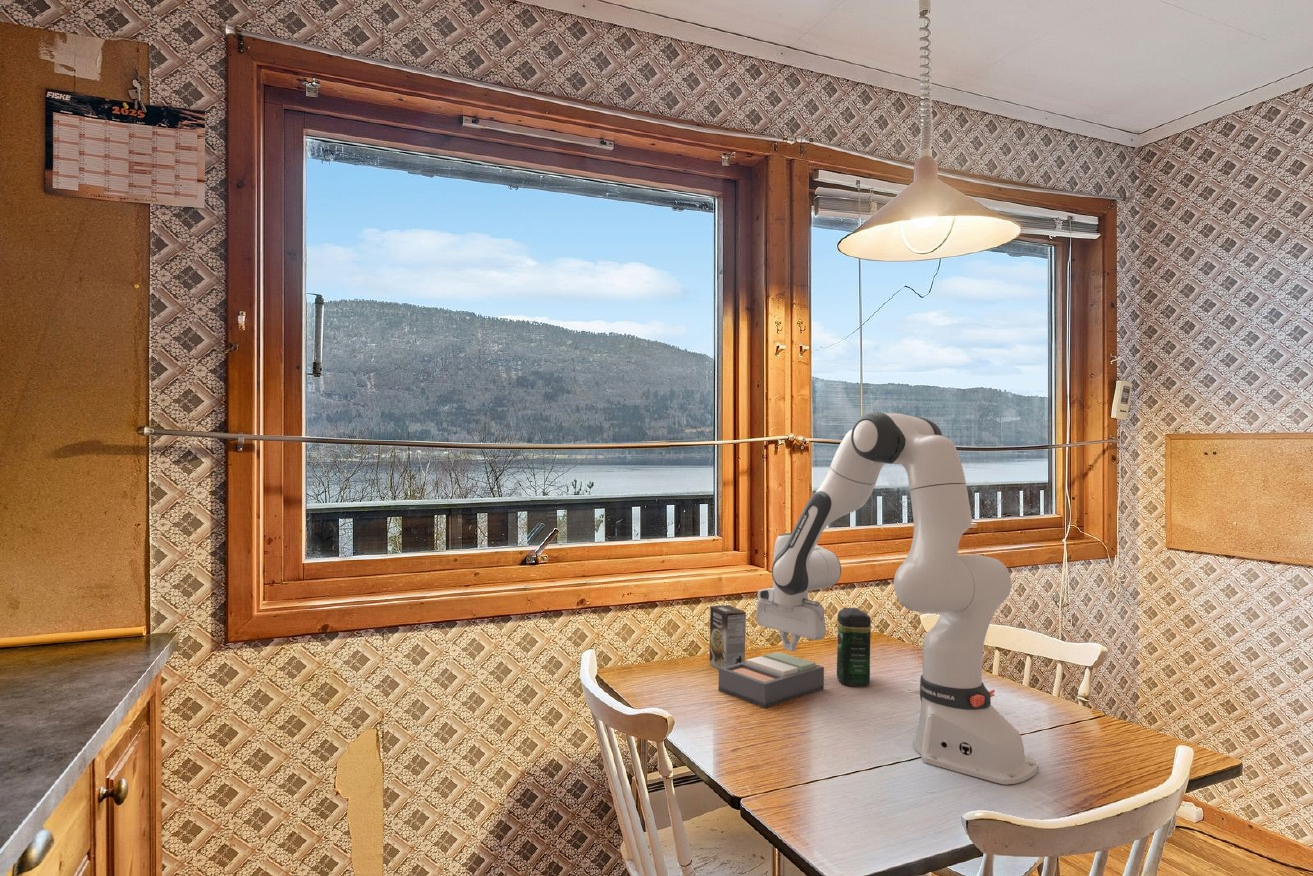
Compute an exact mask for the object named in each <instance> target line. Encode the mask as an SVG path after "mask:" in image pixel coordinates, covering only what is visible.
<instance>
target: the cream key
mask: <svg viewBox="0 0 1313 876" xmlns="http://www.w3.org/2000/svg"><path fill="white" fill-rule="evenodd" d="M746 661H747V663H746V664H748V665H751V666H754V667H757V668H760V669H763V670H766V671H769V672H772V673H775V674H778V675H781V676H787V675H791V674H794V673H797V672H798V668H797V667H794V666H791V665H788V664H784V663H781V662H778V661H775V660H771V659H768V658H765V657H764V656H762V655H760V656H755V657H752V658H748V659H746Z"/></svg>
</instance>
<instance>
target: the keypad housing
mask: <svg viewBox="0 0 1313 876" xmlns="http://www.w3.org/2000/svg"><path fill="white" fill-rule="evenodd" d="M763 657H765V655H764V656H763ZM746 663H747V660H745V662H741V663H737V664H733V665H729V666H726V667H722V668H719V669H718V692H721V693H724V694H727V695H730V696H732V697H734V698H737V699H740V700H742V701H744V702H748V703H750V704H752V705H755V706H757V707H761V708H763V709H767V708H771V707H773V706H776V705H779V704H782V703H785V702H789V701H792V700H795V699H799V698H801V697H804V696H807V695H809V694H813V693H816V692H819V691H821V690H824V689H825V688H824V687H825V686H824V683H825V667H824V666H822V665H818V664H815V668H811V669H808V670H804V671H800V670H798V672H797V673H794V674H791V675H787V676H781V675H778V674H775V673H772V672H769V671H766V670H763V669H760V668H757V667H754V666H751V665H748V664H746ZM738 668H745V669H748V670H751V671H754V672H757V673H760V674H763V675H766V676H769V677H772V678H775V679H773V680H770V681H766V682H763V681H760V680H757V679H755V678H752V677H749V676H746V675H743V674H740V673H737V672H734V671H731V670H735V669H738Z"/></svg>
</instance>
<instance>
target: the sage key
mask: <svg viewBox="0 0 1313 876" xmlns="http://www.w3.org/2000/svg"><path fill="white" fill-rule="evenodd" d="M764 656H765V658H768V659H771V660H775V661H778V662H781V663H784V664H788V665H791V666H794V667H797V668H798V670H800V671H804V670H808V669H811V668H815V665H816V662H814V661H811V660H809V659H804V658H800V657H797V656H794V655H791V654H787V653H784V652H780V651H775V652H772V653H767V654H764Z"/></svg>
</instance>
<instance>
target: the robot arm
mask: <svg viewBox="0 0 1313 876" xmlns="http://www.w3.org/2000/svg"><path fill="white" fill-rule="evenodd" d="M832 458H833V459H832V461H831V463H830V464H829V465H830V466H829V467H828V471H827V472H826V475H825V477H824V479H823V480H822V482H821V484H820V485H819V487H818V488H817V490H816V491H815V493H813V494H812V495H811V496H810V498H809V499H808V501H807V503H806V504H805V506H804V508H803V510H802V512H801V513H800V516H799V517H798V520H797V522H796V524H795V526H794V527H793V529H792V532H789V533H786V532H785V533H781V534H779V535H778V536H777V537H776V539H775V543H774V548H773V563H772V567H771V576H772V579H773V581H772V584H773V585H772V586H769V588H762V589H759V590H758V591H757V597H758V600H757V603H756V609H755V610H756V613H755V614H756V615H755V616H756V617H755V618H756V622H757V624H758V625H759V626H761V627H765V628H769V629H773V630H776V631H779V636H780V639H781V641H782V649H784V650H786V651H789V652H796V651H797V644H798V642H799V641H800V639H801V638H806V639H809V640H813V641H819V640H822V639H824V638H825V637H826V635H827V633H826V632H827V630H826V629H827V627H826V619H825V608H824V606H823V605H822V604H821V603H820V602H819V601H817V600H812V599H809V592H810V591H817V590H821V589H826V588H830V587H832V586H835V585H836V584H837V583H838V582H839V581H840V578H841V576H842V575H841V574H842V566H841V561H840V559H839V558H838V556H837V554H835V552H834V551H832V550H830V549H826V548H824V547H822V546H820V545H818V544H817V543H818V542H819V540H820V537H821V536H822V535H823V532H824V530H825V529H826V528H827V527H828V526H829V525H830V524H832V523H833V522H835V521H836V520H838V519H839V518H842V517H844V516H847V515H848V514H851V513H853V512H856V511H858V510H860V509H862V508H863V506H865V505H866V503H867V502H868V500H869V499H870V497H871V496H872V494H873V491H874V488H875V486H876V484H877V482H878V481H877V480H878V478H879V475H880V474H881V473H880V472H881V470H882V468H883V466H885V464H888V465H889V464H891V465H900V466H902V468H904V470H905V471H906V474H907V480H908V489H909V495H910V502H911V509H912V518H913V534H912V535H913V536H912V541H911V546H910V549H909V551H908V554H907V556H906V558H905V559H904V560H903V562H902V563H901V564H900V565H899V567H898V568H897V570H896V572H895V574H894V578H893V589H894V592H895V595H896V598H897V599H898V601H899V602H900V604H901V605H902V606H903V608H905V609H907V610H909V611H913V612H918V613H925V614H940V615H939V617H938V619H937V621H936V623H935V624H934V626H933V627H932V628H931V629H930V630H929V631H927V633H926V634H925V636H924V638H923V641H922V674H921V675H920V680H919V681H920V684H919V698H920V701H921V703H920V713H919V720H918V725H917V726H918V727H917V730H916V733H915V738H914V740H913V743H912V745H913V748H914V750H915V751H916V752H917V753H919V755H920V757H921V758H920V759H921V760H922V762H924V763H926V764H930V765H933V766H936V767H940V768H944V769H948V770H951V771H953V772H956V773H957V772H958V773H960V774H965V775H968V776H970V777H971V776H972V777H975V778H979V779H983V780H984V781H989V782H992V783H996V784H1000V785H1015V784H1019V783H1023V782H1026V781H1028V780H1029V779H1030V778H1033V777H1034V776H1035V775H1036V774H1037V773H1038V769H1039V768H1038V762H1037V760H1036V759H1034V758H1031V757H1029V756H1027V755H1025V748H1024V742H1023V741H1024V740H1023V738H1022V735H1021V733H1020V732H1019V730H1017V728H1015V727H1014V726H1013V725H1012V724H1011V723H1010V722H1009V721H1008V720H1007V719H1006V718H1005V717H1004V716H1003V715H1002V713H1000V712H999V711H998V710H997V709H996V707H994V706H993V705H992V701H991V699H992V697H994V696H996V695H995V694H994V693H995V692H996V691H995V689H992V690H990V691H989V690H988V689H987V688H986V686H985V684H984V683H983V682H984V681H983V658H984V657H983V656H984V655H983V653H984V646H985V640H986V636H987V633H988V630H989V626H990V624H991V622H992V619H993V617H994V615H995V614H996V611H997V610H998V608H999V607H1000V606H1001V604H1002V603H1004V602H1005V600H1007V599H1008V597H1009V596H1010V593H1011V590H1012V578H1011V574H1010V572H1009V570H1008V568H1007V567H1006V565H1005V564H1004V563H1003V562H1002V561H1001V560H999V559H997V558H995V557H990V556H987V555H982V554H976V553H975V554H972V553H971V554H959V545H960V540H961V538H962V536H963V534H964V533H965V532H967V531H968V530H969V529H970V527H971V525H972V522H973V516H972V512H971V511H972V510H971V506H970V505H971V504H970V499H969V494H968V487H967V480H966V476H965V472H964V468H963V465H962V461H961V458H960V455H959V453H958V451H957V448H956V445H955V443H954V442H953V441H952V440H951V439H950V438H948V437H947V436H944V435H943V433H942V430H941V429H940V427H939V426H938V425H937V424H936V423H934V422H933V421H931V420H929V419H928V418H925V417H921V416H918V417H917V416H912V415H908V414H903V413H900V412H899V413H898V412H881V411H880V412H879V411H877V412H870V413H867V414H864V415H862V416H860V417H859V418H858V419H857V420H856V421H855V422H854V425H853V426H852V429H850V430H849V431H847V432H846V434H844V437H843V439H842V440H841V441H840V444H839V446H838V447H837V449H836V451H835V454H834V456H833V457H832ZM788 635H790V638H789V636H788ZM790 639H791V641H790Z"/></svg>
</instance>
